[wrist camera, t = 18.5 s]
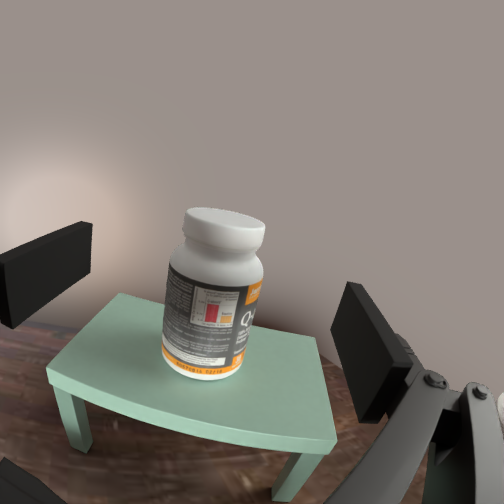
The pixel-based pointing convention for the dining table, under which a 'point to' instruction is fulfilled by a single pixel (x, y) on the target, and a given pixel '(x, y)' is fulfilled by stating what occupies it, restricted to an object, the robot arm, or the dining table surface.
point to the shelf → (198, 389)
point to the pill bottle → (212, 293)
